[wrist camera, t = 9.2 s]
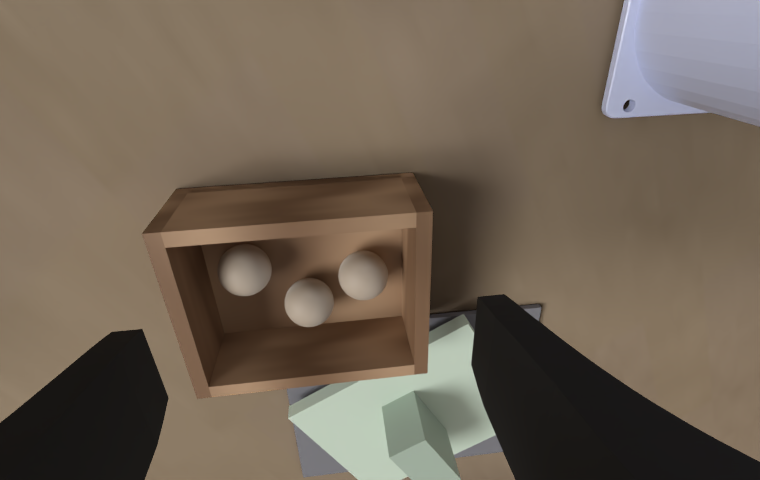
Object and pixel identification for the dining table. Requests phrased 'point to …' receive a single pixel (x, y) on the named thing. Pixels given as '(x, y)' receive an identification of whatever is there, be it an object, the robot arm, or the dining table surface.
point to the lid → (403, 415)
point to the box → (296, 281)
